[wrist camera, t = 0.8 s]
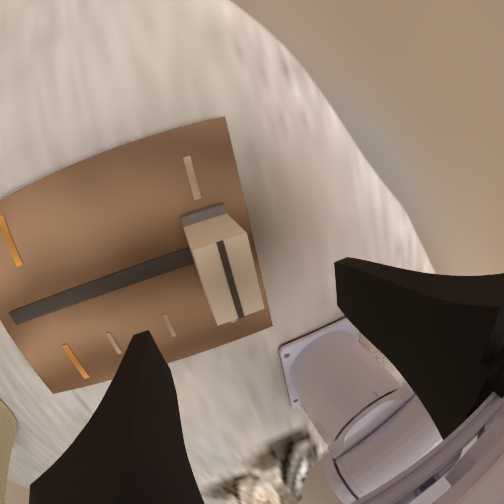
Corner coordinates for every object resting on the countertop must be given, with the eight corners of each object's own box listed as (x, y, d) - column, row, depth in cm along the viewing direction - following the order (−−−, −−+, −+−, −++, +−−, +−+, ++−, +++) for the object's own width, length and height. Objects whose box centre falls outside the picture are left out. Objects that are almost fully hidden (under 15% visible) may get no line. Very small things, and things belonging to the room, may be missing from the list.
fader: (242, 281, 18) (266, 317, 14) (205, 294, 17) (220, 334, 14) (222, 202, 16) (244, 221, 12) (179, 216, 15) (188, 239, 12)
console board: (262, 311, 22) (273, 326, 20) (57, 376, 18) (53, 394, 17) (217, 119, 16) (225, 116, 14) (-29, 219, 13) (-44, 228, 11)
